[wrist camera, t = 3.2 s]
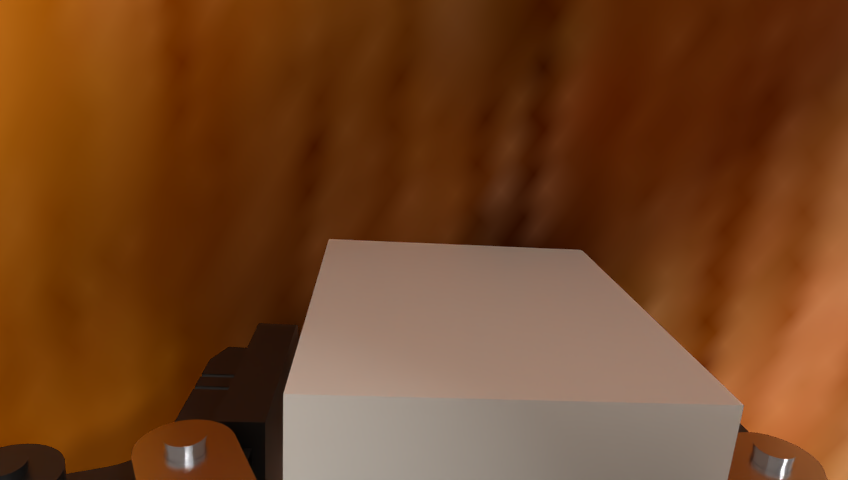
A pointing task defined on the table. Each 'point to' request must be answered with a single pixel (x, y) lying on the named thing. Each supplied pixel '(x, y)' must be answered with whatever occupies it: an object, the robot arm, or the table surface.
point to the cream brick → (493, 373)
